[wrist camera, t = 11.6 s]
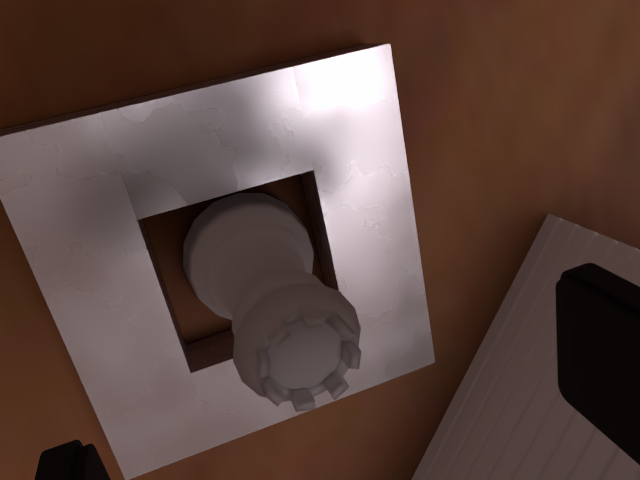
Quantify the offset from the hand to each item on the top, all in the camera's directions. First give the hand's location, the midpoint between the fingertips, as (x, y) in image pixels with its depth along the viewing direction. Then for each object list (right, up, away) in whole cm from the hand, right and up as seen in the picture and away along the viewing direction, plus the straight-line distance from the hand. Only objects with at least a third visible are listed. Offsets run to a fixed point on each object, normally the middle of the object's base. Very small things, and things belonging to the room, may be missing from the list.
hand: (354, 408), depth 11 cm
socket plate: (-4, +3, +9) cm, 10 cm away
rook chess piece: (-3, +3, +9) cm, 11 cm away
